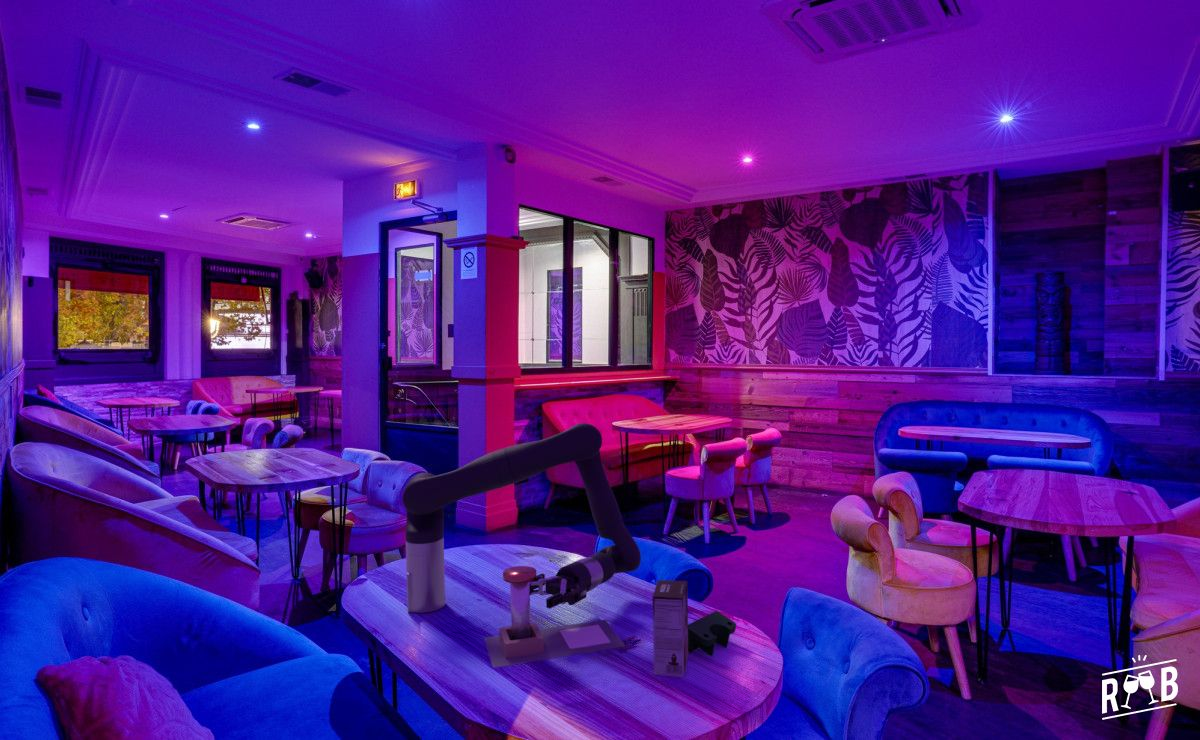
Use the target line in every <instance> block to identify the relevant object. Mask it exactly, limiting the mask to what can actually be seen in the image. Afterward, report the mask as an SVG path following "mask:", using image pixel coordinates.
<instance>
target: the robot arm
mask: <svg viewBox="0 0 1200 740" xmlns="http://www.w3.org/2000/svg"><path fill="white" fill-rule="evenodd" d="M602 445H603V436H602V434H601V432H600V430H599V429H598V428H597V427H596V426H594V425H593V424H591V423H587V422H582V423H581V422H580V423H577V424H574V425H572V426H571V427H570V428H569V429H567V430H564V431H562V432H559V433H557V434H554V435H552V436H550V437H547V438H544V439H540V440H535V441H530V442H524V443H519V444H515V445H510V446H507V447H504V448H500V449H497V450H494V451H492V452H489V453H486V454H484V455H482V456H480V457H478V458H476V459H475V460H472V461H470V462H469V463H466V464H465V465H463V466H461V467H459V468H457V469H455V470H452V471H449V472H445V473H442V474H436V475H435V474H433V473H430V472H421V473H418V474H416V475H414V476H413V477H411V479H409V481H408V482H407V484H406V486H405V487H404V489H403V491H402V497H401V498H402V499H401V500H402V504H403V507H404V508H405V510H406V522H405V531H404V532H405V534H404V535H405V555H406V556H405V558H406V559H405V562H406V565H405V566H406V569H405V570H406V571H405V572H406V573H405V574H406V598H407V601H406V602H407V613H417V614H420V613H421V614H422V613H424V614H425V613H431V612H436V611H438V610H440V609H442V608H443V607H445V606H446V581H445V580H446V579H445V578H446V577H445V543H444V542H445V539H444V537H445V536H444V527H445V525H444V524H445V507H446V506H449V505H451V504H453V503H455V502H458V501H460V500H463V499H466V498H469V497H473V496H476V495H480V494H484V493H488V492H491V491H494V490H498V489H501V488H505V487H507V486H511V485H513V484H517V483H519V482H522V481H524V480H526V479H529V478H531V477H534V476H536V475H538V474H541V473H542V472H544V471H547V470H549V469H551V468H554V467H558V466H561V465H564V464H568V463H573V462H574V463H575V465H576V468H577V470H578V472H579V475H580V477H581V479H582V483H583V486H584V490H585V493H586V496H587V500H588V503H589V507H590V511H591V515H592V517H593V522H594V523H595V524H594V525H595V527H596V530H597V533H598V536H600V538H601V539H607V540H610V541H611V542H612V543H613V545H607V546H605V547H603V548H602V549H600V550H599V551H597V552H596V553H594V554H592V555H590V556H588V557H584V558H580V559H578V560H575V561H573V562H571V563H568V564H566V565H564V566H562V567H561V568H559V569H558V570H557V573H556V574H555V576H554V575H553V576H550V577H546V574H545V573H540V574H536V578H535V579H534V580H533V581H530V582H529V584H530V596H531V595H538V594H539V596H547V595H550V596H548V597H547V598H546V599H545V601H546V603H545V604H546V605H545V606H546V608H547V609H548V610H549V609H552V608H555V607H557V606H558V605H565V604H566V603H567V604H568V605H569V606H574V605H576V604H578V603H579V602H581V601H582V600H584V599H586V598H587V593H588V592H591V591H592V590H594V589H596V588H597V587H599V586H600V585H602V584H604V583H606V582H608V581H610V579H612V578H613V577H614V575H615V574H622V573H630V572H635V571H637V570H638V568H639V567H640V566H641V561H642V555H641V551H640V548H639V546H638V544H637V542H636V541H635V539H634V538H633V536H632V534H631V533H630V531H629V530H628V528H627V527H626V525H625V523H624V520H623V516H622V513H621V511H620V507H619V504H618V502H617V499H616V496H615V494H614V491H613V489H612V487H611V485H610V483H609V480H608V478H607V474H606V472H605V469H604V465H603V462H602V457H601V448H602V447H603V446H602ZM543 586H545V588H544V590H543Z"/></svg>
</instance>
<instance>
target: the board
mask: <svg viewBox="0 0 1200 740" xmlns="http://www.w3.org/2000/svg"><path fill="white" fill-rule="evenodd" d="M498 630H499V635H492V636H487V637H484V638H483V641H484V643H485V646H486V649H487V653H488V656H489V659H490V660H489V661H490V663H491V666H492V669H495V668H496V669H497V668H501V667H502V668H503V667H508V666H513V665H515V666H516V665H520V664H526V663H527V664H528V663H532V662H538V661H539V662H540V661H545V660H546V661H547V660H551V659H552V660H553V659H558V658H563V657H568V656H575V655H581V654H589V653H595V652H600V651H606V650H612V649H618V648H621V649H622V650H623V652H624V653H625V654H626V653H627V651H626V645H625V643H624V642H623V641H622V639H621V638H620V636H618V634H617V632H615V630H614V628H612V626H611V625H610V623H608V621H607V620H606V619H601V620H600V619H599V620H593V621H588V622H587V621H586V622H580V623H579V622H578V623H573V624H566V625H560V626H559V625H558V626H554V627H553V626H552V627H547V628H539V626H538V624H537V622H530V633H531V638H525V639H518V640H512V633H511V626H503V627H499V628H498Z"/></svg>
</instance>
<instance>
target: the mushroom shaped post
mask: <svg viewBox="0 0 1200 740" xmlns="http://www.w3.org/2000/svg"><path fill="white" fill-rule="evenodd" d="M536 576H537V569H536V568H535V567H533V566H532V567H531V566H529V565H528V566H527V565H518V566H517V565H516V566H511V567H508V568H506V569H504V570H503V572H502V579H503V581H505V582H506V583H509V584H510V621H511V623H510V625H511V633H512V640H518V639H525V638H531V633H530V623H531V599H530V597H531V595H530V584H529V582H530V581H533V580H534V579H535V578H536Z"/></svg>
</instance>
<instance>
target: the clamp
mask: <svg viewBox="0 0 1200 740" xmlns="http://www.w3.org/2000/svg"><path fill="white" fill-rule="evenodd" d="M736 628H737V623H736V622H735V621H733V620H732V619H731V618H729V617H727V616H726V615H724V614H722V612H720V611H718V610H714V611H713V612H711V613H709V614H707V615H705V616H702V617H701V618H699V619H697V620H694V621H693V622H690V623H688V654H689V653H690V654H691V653H692V652H695V651H696V649H697V650H698V648H699V650H701V651H703V652H704V653H706V654H707V655H708V656H710V657H712V656H714V652H715V648H716V647H715V646H716V644H717V645H719V646H721V647H723V648H725V649H727V648H728V645H729V640H730V636H731V635H732V634H734V633H735V631H736ZM694 650H695V651H694Z"/></svg>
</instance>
